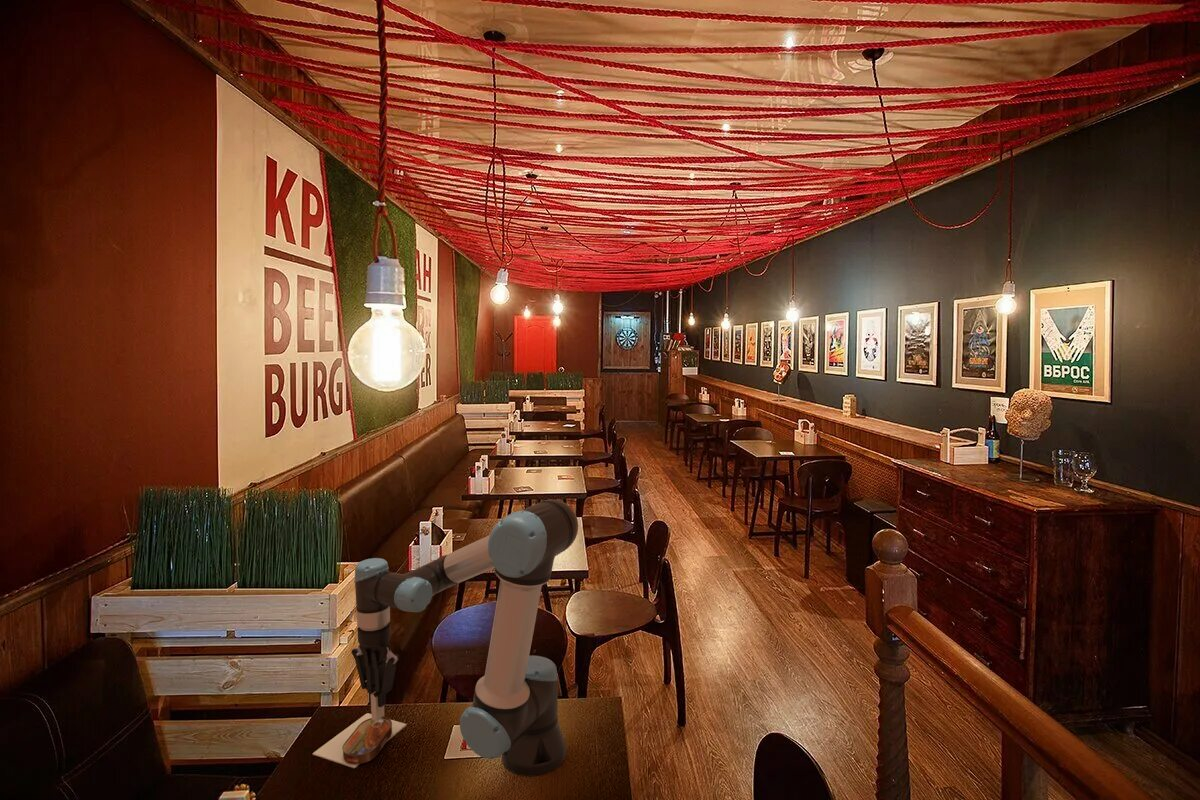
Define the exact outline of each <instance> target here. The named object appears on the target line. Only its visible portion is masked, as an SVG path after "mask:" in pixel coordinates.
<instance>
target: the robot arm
mask: <svg viewBox="0 0 1200 800" xmlns="http://www.w3.org/2000/svg"><path fill="white" fill-rule="evenodd" d="M578 521H579V520H578V518H577V514H576V512H575V510H574V509H573V508H572V507H571V506H570V505H569V504H567V503H566V502H564V501H562V500H560V499H559V500H558V499H554V498H553V499H551V498H550V499H544V500H542V501H539V502H537V503H535V504H532V505H531V506H529V507H526V508H523V509H521V510H518V511H514V512H511V513H510V514H508V515H507V516H505V517H504V518H502V519H501V520H499V521H498V522H497V523H496V524H495V525H494V527H493V528H492V530H491V531H490V534H489V535H486V536H485V537H482V538H480V539H478V540H475V541H473V542H472V543H469V544H467V545H465V546H463V547H460V548H458V549H456V550H454V551H452V552H450V553H448V554H444V555H441V556H440V557H438V558H436V559H434V560H432V561H430V562H428V563H425V564H423V565H421V566H419V567H417V568H415V569H413V570H410V571H408V572H406V573H403V574H401V573H398V572H393V571H389V569H390V568H389V564H388V561H387V560H386V559H384V558H379V557H373V558H372V557H371V558H368V559H364V560H361V561H359V562H358V563H357V564H356V565H355V568H354V580H353V581H354V588H355V590H354V591H355V604H356V605H355V606H356V626H357V632H356V633H357V642H358V646H356V647H354V648H353V649H351V654H352V657H353V658H354V661H355V665H356V669H357V674H358V678H359V679H358V680H359V683H360V687H361V689H362V690H366V691H367V693H368V701H369V702H368V703H369V705H370V710H371V713H370V714H372V720H374V721H378V720H379V719H380V718H382V717H385V705H386V703H387V702H386V701H387V700H386V694H388V693H389V692H390V691H391V690H393V687H394V681H395V673H396V669H397V663H398V661H399V660H400V657H401V656H400V655H399V654H394V653H393V652H392V648H391V645H390V640H391V637H392V631H391V630H392V627H391V622H390V621H391V608H392V609H397V610H401V611H402V612H412V613H421V612H422V611H424V610H425V609H427V607H428V605H429V604H430V603H431V601H432V597H433V596H435V595H436V594H438V593H440V592H442V591H444V590H447V589H449V588H451V587H454V586H456V585H458V584H460V583H462V582H464V581H468V580H470V579H472V578H474V577H476V576H478V575H481V574H484V573H487V572H489V571H492V570H493V569H494V574H495V576H496V577H498V579H499V580H500V581H499V587H498V593H497V599H496V605H495V612H494V616H493V622H492V630H491V634H490V635H491V636H490V642H489V646H488V647H489V648H488V654H487V658H486V659H487V660H486V664H485V665H486V666H485V671H484V672H485V673H484V675H483V676H482V677H479V679H478V680H477V682H476V685H475V688H474V694H473V701H472V703H471V704H470V706H468V707H466V709H465V710H464V711H463V713H462V714H461V716H460V719H459V730H460V735H461V736H462V739H463V740H464V742H465V743H466V745H467V746H468V748H469V749H470V750H471V751H472V752H474V753H475V754H476V755H477V756H479V757H482V758H483V759H488V760H493V759H498V758H499V757H501V762H502V764H503V766H504V768H506V769H507V770H508V771H510V772H512V773H514V774H517V775H519V776H525V777H526V776H529V777H533V776H534V777H535V776H540V775H544V774H545V775H546V774H547V773H550V772H553V771H554V770H556V769H557V768H559V766H561V765H562V763H563V762H564V761H565V759H566V755H567V743H566V739H565V738H564V734H563V731H562V729H561V725H560V723H559V712H558V711H559V710H558V709H559V705H558V703H559V702H558V701H559V700H558V697H559V695H558V687H559V686H558V681H559V680H558V679H559V676H558V671H557V665H556V664H555V663H554V661H552V660H551V659H549V658H547V657H545V656H541V655H530V653H531V646H532V642H533V636H534V631H535V624H536V621H537V615H538V609H539V604H540V597H541V593H542V587H543V585H546V584H547V583H549V582H550V579H551V577H552V573H553V568H554V567H553V566H554V561H555V558H556V556H559V555H560V554H562V553H563V552H565V551H566V550H568V549H569V548H570V547H571V546H572V545H573V543H574V542H575V540H576V538H577V536H578V533H579V532H578V531H579V522H578Z"/></svg>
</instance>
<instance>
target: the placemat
mask: <svg viewBox="0 0 1200 800" xmlns="http://www.w3.org/2000/svg"><path fill="white" fill-rule="evenodd" d="M370 718H372V713H365V714H364V715H362V716H361V717H359V718H358V719H357V720H356V721H354V722H353V723H352V724H351V725H349V726H348V727H346V728H345V729H344V730H342V731H341V732H339V733H337V734H336V736H334V737H333V738H332V739H331V738H330V740H328V741H327V742H326V743H325V744H323V745H322V746H320V747H319V748H318V749H317V750H315V751H314V752H313V753H312V756H316V757H320V758H322V759H326V760H328V761H331V762H334V763H337V764H340V765H342V766H346V767H349V768H351V769H355V768H357V767H359V765H360V764H354V763H348V762H346V761H345V760H344V757H343V749H342V748H343V745H344V743H345V742H346V740H347V739H348V738H349V737H350V736H351V734H352V733H353V732H354V731H355V729H356V728H357V727H358V726H359V724H361V723H362V722H363V721H365V720H367V719H370ZM390 720H391V721H392V734H391V736H390V738H389V739H388V741H390V739H392V738H393V737H394V736H396V735H397V734H398V733H399V732H401V731H402V730H403V729H404V728H405V727H406V726H407V723H404V722H401V721H397V720H393V719H390Z"/></svg>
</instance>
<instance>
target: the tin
mask: <svg viewBox="0 0 1200 800" xmlns="http://www.w3.org/2000/svg"><path fill="white" fill-rule="evenodd" d="M391 720H392V719H390V718H388V717H386V716H383V717H382V718H380V719H379V720H378V721H374V720H372V718H370V719H367V720H365V721H363V722H362V723H361V724H359V726H358V727H357V728H356V729H355V731H354V732H353V733H352V734H351V736H350V737H349V738H348V739H347V740H346V742H345V743H344V745H343V748H342V749H343V757H344V760H345V761H346V762H348V763H354V764H359V765H362V764H365V763H368V762H371V761H372V760H374V759H375V758H376V757H377V755H378V754H379V753H380V752H381V751H382V749H383V748H384V746H385V744H386V743H387V742H388V741H389V740H390V739H389V738H390V736H391V734H392V721H391ZM388 739H389V740H388Z"/></svg>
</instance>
